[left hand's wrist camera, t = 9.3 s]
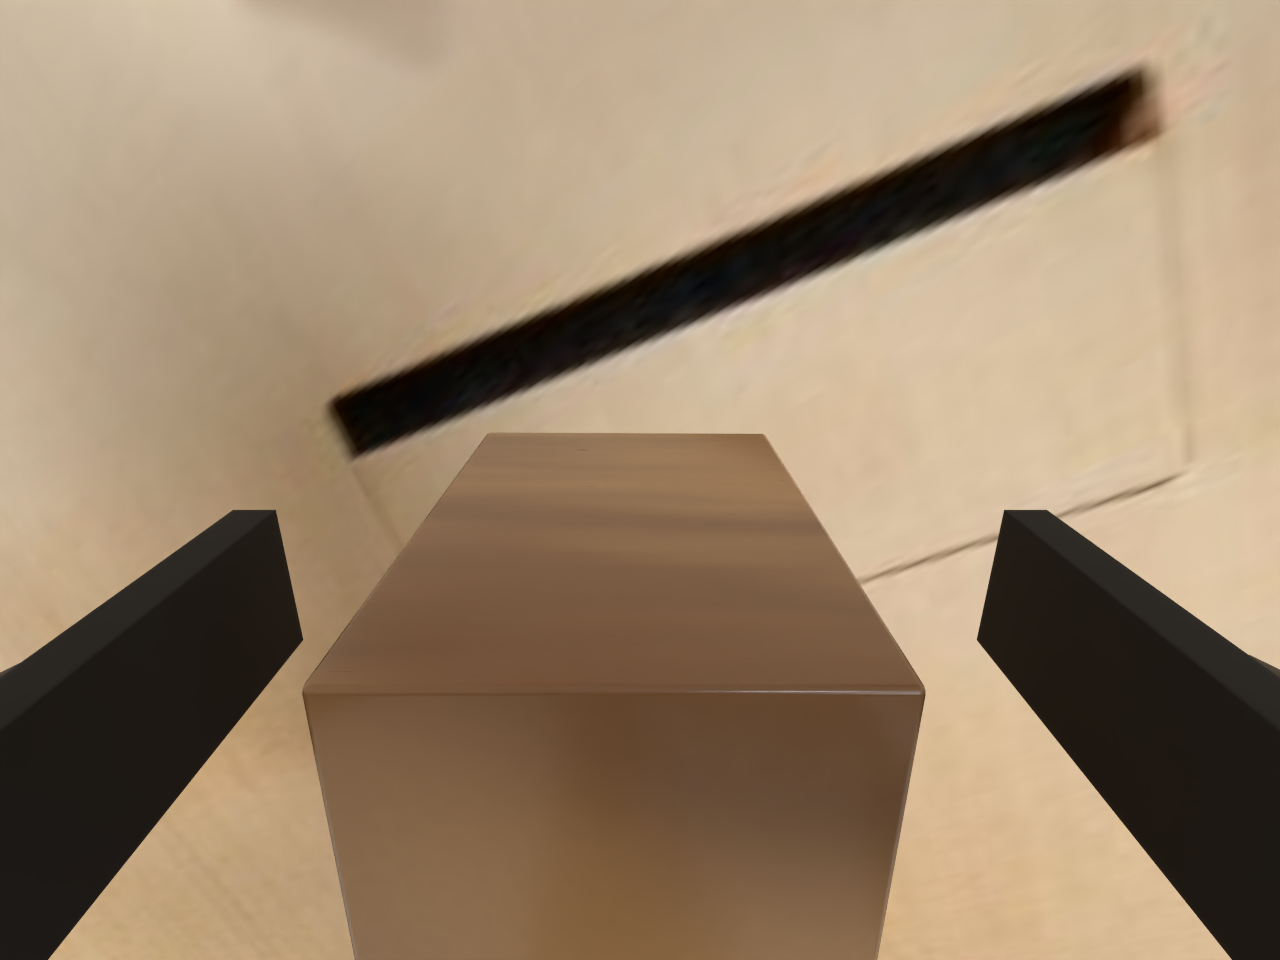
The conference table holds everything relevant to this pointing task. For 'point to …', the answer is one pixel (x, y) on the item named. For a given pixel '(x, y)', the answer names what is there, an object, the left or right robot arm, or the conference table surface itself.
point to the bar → (616, 717)
